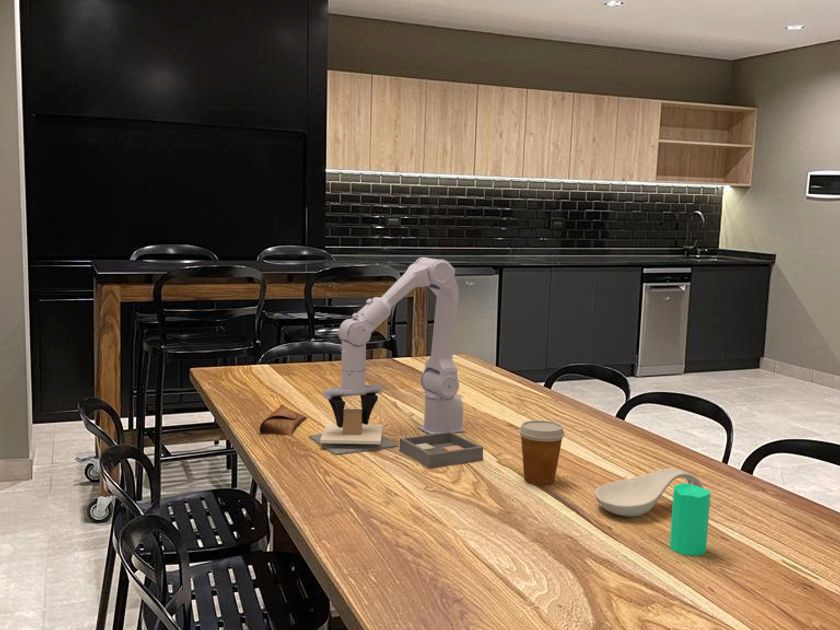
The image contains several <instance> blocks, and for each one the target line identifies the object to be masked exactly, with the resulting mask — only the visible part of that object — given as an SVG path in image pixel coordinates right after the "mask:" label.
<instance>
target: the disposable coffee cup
mask: <svg viewBox="0 0 840 630" xmlns="http://www.w3.org/2000/svg"><path fill="white" fill-rule="evenodd" d="M518 433H519V435H520V440H521V442H520V443H521V451H522V452H521V453H522V464H523V477H524V478H523V480H524V482H525V483H527V484H530V485H532V486H539V487H541V486H542V487H544V486H550V485H553V484H554V483H555V479H556V473H557V469H558V463H559V457H560V452H561V448H562V441H563V439H564V436H566V435H565V431H564V427H563V425H562V424H560V423H558V422H554V421H549V420H528V421H524V422H522V423H521V424H520V428H519V429H518Z"/></svg>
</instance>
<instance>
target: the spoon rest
mask: <svg viewBox="0 0 840 630" xmlns="http://www.w3.org/2000/svg"><path fill="white" fill-rule="evenodd" d="M680 478H682V479H685V480H686V481H687V484H691V485H692V481H693V485H695V486H698V487H701V488H704V486H703V484H702V482H701V481H700V480H699V478H697V476H694V474H690V473H688V472H686V471H685V470H682V469H680V468H675V467H674V468H673V467H672V468H671V467H669V468H663V469H659V470H656V471H653V472H650V473H646V474H642V475H639V476H634V477H630V478H625V479H621V480H617V481H612V482H608V483H605V484H602V485H600V486H598V487H596V489H595V490H594V497H595V499H596V501H597V502H598V503H599V504H600V506H601V507H602V508H603V509H604V510H606V511H608V512H610V513H612V514H614V515H618V516H620V517H626V518H636V517H637V518H638V517H641V516H643V515H644V514H646V513H647V512H649V511H650V510H651V509H652V508H653V507H655V505H656V504H657V502H658V501H659V500H660V498H661V497H662V496H663V494H664V492H665V491H666V489H667V488H668V487H669V486H670V484H671V483H672V482H673V481H674V480H676V479H680Z"/></svg>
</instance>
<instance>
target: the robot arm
mask: <svg viewBox="0 0 840 630" xmlns="http://www.w3.org/2000/svg"><path fill="white" fill-rule="evenodd" d="M455 274H456V269H455V268H454V266H452V264H451V263H450V262H449V261H448V260H445V259H436V258H430V257H427V256H421V257H419V258H417V259H416V260H415V262H414V263H411V264H410V265H409V266H408V268H407V269H406V271H405V272H404V273H403V274H402V276H401V277H400V278H398V279H397V280H396V281H395V282H394V283H393V285H392V286H390V287H389V289H387V291H386V292H385V293H384V294H383V295H382V296H381V297H378V296H375V297H373V298H368V299H367V300H366V301H365V302H366V304H365V305H364V306H363V307H361V309H360V310H358V311H357V312H354V313H353V314H352V315H351V316H352V318H349V319H348V318H347V319H345V320H343V321H342V322H341V324H340V325H339V329H338V330H337V335H338V338H339V339H340V340H341V368H340V369H341V377H340V378H341V379H340V381H341V383H340V386H337V387H336V386H335V387H332V388H325V389H323V394H322V395H323V398H324V399H326V400H327V401H328V402H329V404H330V406H331V409H332V411H333V414H334V418H335V422H336V423H335V424H337V426H338V427H339V428H343V413H344V409H345V407H346V401H345V400H343V398H344V397H353V396H360V402H361V403H360V404H361V405H360V406H361V409H363V424H365V425H368V424H369V422H370V417H371V416H372V415H371V414H372V412H373V409H374V407H375V405H376V404H377V402H378V399H379V396H378V395H382V394H383V385H381V384H366V369H367V368H366V366H367V365H366V364H367V363H366V362H367V360H366V358H367V357H366V356H367V353H366V352H367V343H368V342H369V341H370V340H371V336H372V334H373V332H374V331H375V329H376V328H378V327H379V326H380V325H381V324H382V323H383V322H384V321H385V320H387V318H388V317H389V316H390V315H391V314H392V313H391V312H392V311H391V310H392V308H393V306H394V305H396V304H397V303H398V302H400V301H401V300H403V298H404V297H405V296H406V295H407V294H409V293H410V292H412V291H413V290H414V289H415V288H421V287H422V288H423V287H428V288H429V289H430V290H431V291H432V293H434V295H435V296H436V301H435V310H434V321H433V332H432V340H431V351H430V357H429V358H428V359H427V361H426V362H425V364H424V369H423V372H422V373H421V376H420V378H419V379H420V381H419V382H420V385H421V387H422V389H423V390H424V416H423V417H424V418H423V422H424V423H423V425H418V426H417V429H418V430H420V431H421V432H422V431H423V432H425V433H427V435H428V434H436V433H443V432H453V433H455V434H457V433H462V432H464V431H465V429H464V428H463V426H464V425H463V424H464V423H463V422H464V403H463V401H462V398H461V396H459V395H457V393H458V391H459V389H460V380H459V378H458V367H457V366H456V365H455V363H454V360H453V357H454V356H453V355H454V345H455V335H456V328H457V326H456V325H457V316H458V315H457V314H458V304H459V296H460V295H459V294H460V289H459V285H458V282H457V279H456V275H455Z"/></svg>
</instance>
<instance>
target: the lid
mask: <svg viewBox="0 0 840 630" xmlns="http://www.w3.org/2000/svg"><path fill="white" fill-rule="evenodd" d="M383 431H384V424H369V423H368V425H365V424H363V409H362V408H361V409H360V408H344V413H343V428H339V427H338V426H337V423H326V424H325V427H324V429H323V432H322V433H321V434H322V436H321V439H320V443H339V444H381V438H382V437H383Z"/></svg>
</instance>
